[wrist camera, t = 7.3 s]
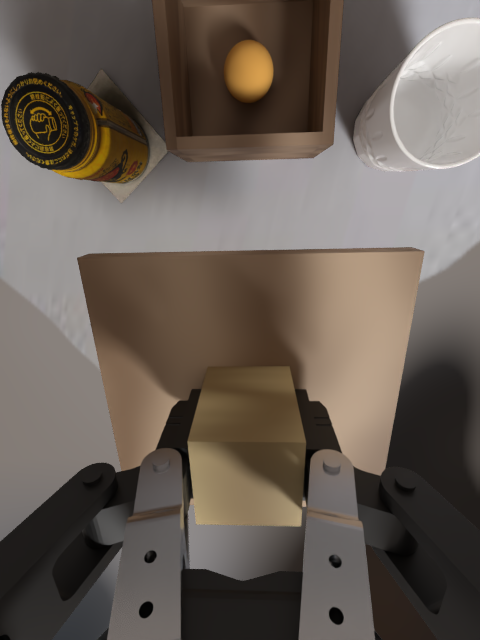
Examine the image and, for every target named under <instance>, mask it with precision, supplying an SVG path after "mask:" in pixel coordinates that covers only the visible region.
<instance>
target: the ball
mask: <svg viewBox="0 0 480 640" xmlns="http://www.w3.org/2000/svg"><path fill="white" fill-rule="evenodd" d="M224 80H225V84H226V86H227V88H228V90H229V92H230V93H231V95H232V96H233V97H234V98H235V99H237V100H239V101H241V102H244V103H253V102H256V101H258V100H260V99H261V98H262V97H263V96H264V95H265V94H266V93H267V92H268V90H269V88H270V86H271V83H272V80H273V62H272V59H271V56H270V54H269V52H268V50H267V49H266V48H265V47H264V46H263V45H262V44H261V43H259V42H257V41H255V40H244V41H241V42H239V43H237V44H236V45H235V46H234V47H233V48H232V49H231V50H230V52H229V53H228V55H227V57H226V60H225V64H224Z"/></svg>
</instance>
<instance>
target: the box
mask: <svg viewBox="0 0 480 640" xmlns="http://www.w3.org/2000/svg"><path fill="white" fill-rule="evenodd" d="M343 2H344V0H152V5H153V15H154V26H155V36H156V47H157V57H158V67H159V78H160V88H161V99H162V109H163V120H164V130H165V140H166V150H167V151H169V152H171V153H173V154H174V155H176V156H178V157H180V158H181V159H183V160H185V161H187V162H204V161H236V160H267V159H298V158H314V157H315V156H317V155H318V154H320V153H321V152H323V151H324V150H326V149H327V148H329V147H330V146H332V145H333V142H334V128H335V114H336V100H337V86H338V72H339V58H340V44H341V30H342V16H343ZM244 40H255V41H257V42H259V43H261V44H262V45H263V46H264V47H265V48H266V49H267V50H268V52H269V54H270V56H271V59H272V62H273V80H272V83H271V86H270V88H269V90H268V92H267V93H266V94H265V95H264V96H263V97H262V98H261V99H260V100H258V101H256V102H253V103H244V102H241V101H239V100H237V99H235V98H234V97H233V96H232V95H231V93H230V92H229V90H228V88H227V86H226V84H225V80H224V64H225V60H226V57H227V55H228V53H229V52H230V50H231V49H232V48H233V47H234V46H235V45H236V44H237V43H239V42H241V41H244Z"/></svg>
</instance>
